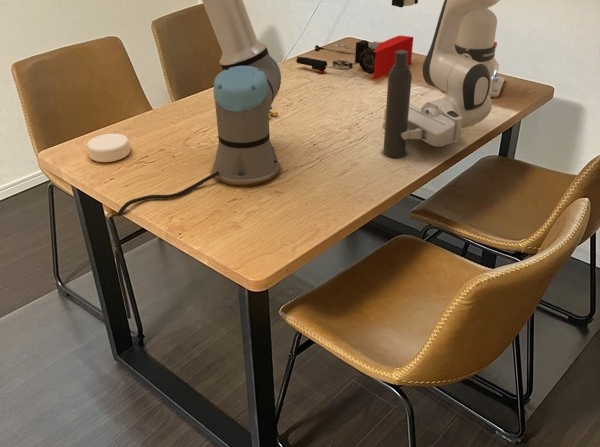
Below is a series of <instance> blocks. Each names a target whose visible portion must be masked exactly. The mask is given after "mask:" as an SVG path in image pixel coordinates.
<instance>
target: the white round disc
mask: <svg viewBox="0 0 600 447" xmlns="http://www.w3.org/2000/svg"><path fill="white" fill-rule="evenodd" d="M86 148H87V152H88V157H89V158H90V159H91V160H93V161H95V162H97V163H110V162H117V161H120V160H122V159H124V158H126V157H127V156H128V155H129V154H130V153H131V147H130V140H129V138H128V136H126V135H124V134H121V133H104V134H100V135H97V136H95V137H92V138H90V140H88V142H87V143H86Z"/></svg>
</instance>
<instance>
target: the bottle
mask: <svg viewBox="0 0 600 447" xmlns="http://www.w3.org/2000/svg"><path fill="white" fill-rule="evenodd" d="M407 57H408V52H407V51H405V50H398V51H396V53H395V64H394V65H393V67H392V68H391V70H390V71H389V73H388V74H387V89H386V90H387V91H386V104H385V105H386V106H385V108H386V120H384V121H385V129H384V136H383V137H384V138H383V139H384V140H383V152H382V153H383V155H384V156H386V157H389V158H392V159H393V158H396V159H397V158H402V157H405V155H406V148H407V139H406V140H404V139H402V138H401V137H400V132H401V131H404V130H407V126H408V114H409V104H410V101H411V100H410V99H411V90H412V77H413V74H412V71H411V69H410V66H409V64H407Z"/></svg>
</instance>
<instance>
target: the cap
mask: <svg viewBox="0 0 600 447" xmlns="http://www.w3.org/2000/svg"><path fill="white" fill-rule="evenodd" d="M414 2H415V0H404V6H403V7H410V6H413V5H415V4H414Z"/></svg>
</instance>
